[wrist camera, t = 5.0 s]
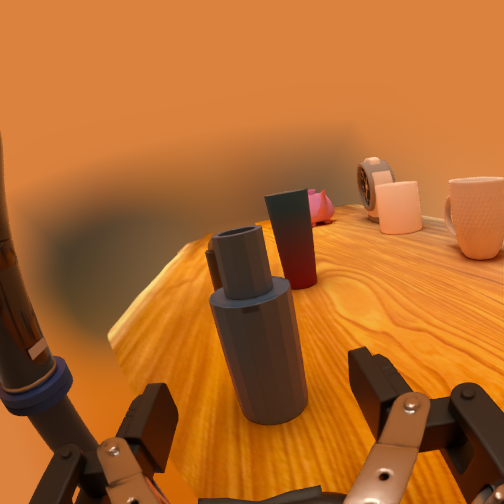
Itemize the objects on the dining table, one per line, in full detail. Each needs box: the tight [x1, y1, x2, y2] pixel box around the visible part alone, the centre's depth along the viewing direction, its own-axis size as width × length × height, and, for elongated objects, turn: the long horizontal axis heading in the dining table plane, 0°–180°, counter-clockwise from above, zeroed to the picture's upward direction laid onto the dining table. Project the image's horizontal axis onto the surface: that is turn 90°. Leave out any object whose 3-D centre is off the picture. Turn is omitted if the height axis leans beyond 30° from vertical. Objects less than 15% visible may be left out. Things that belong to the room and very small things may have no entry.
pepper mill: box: [205, 239, 223, 291], centre depth 47 cm, size 4×4×10 cm
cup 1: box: [264, 188, 317, 289], centre depth 46 cm, size 7×7×15 cm
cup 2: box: [375, 181, 422, 234], centre depth 68 cm, size 12×12×12 cm
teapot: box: [308, 189, 335, 227], centre depth 103 cm, size 20×14×12 cm
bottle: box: [209, 225, 308, 425], centre depth 20 cm, size 5×5×14 cm
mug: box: [444, 177, 504, 260], centre depth 40 cm, size 15×11×13 cm
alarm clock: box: [357, 157, 395, 223], centre depth 86 cm, size 18×8×20 cm, turn 174°
